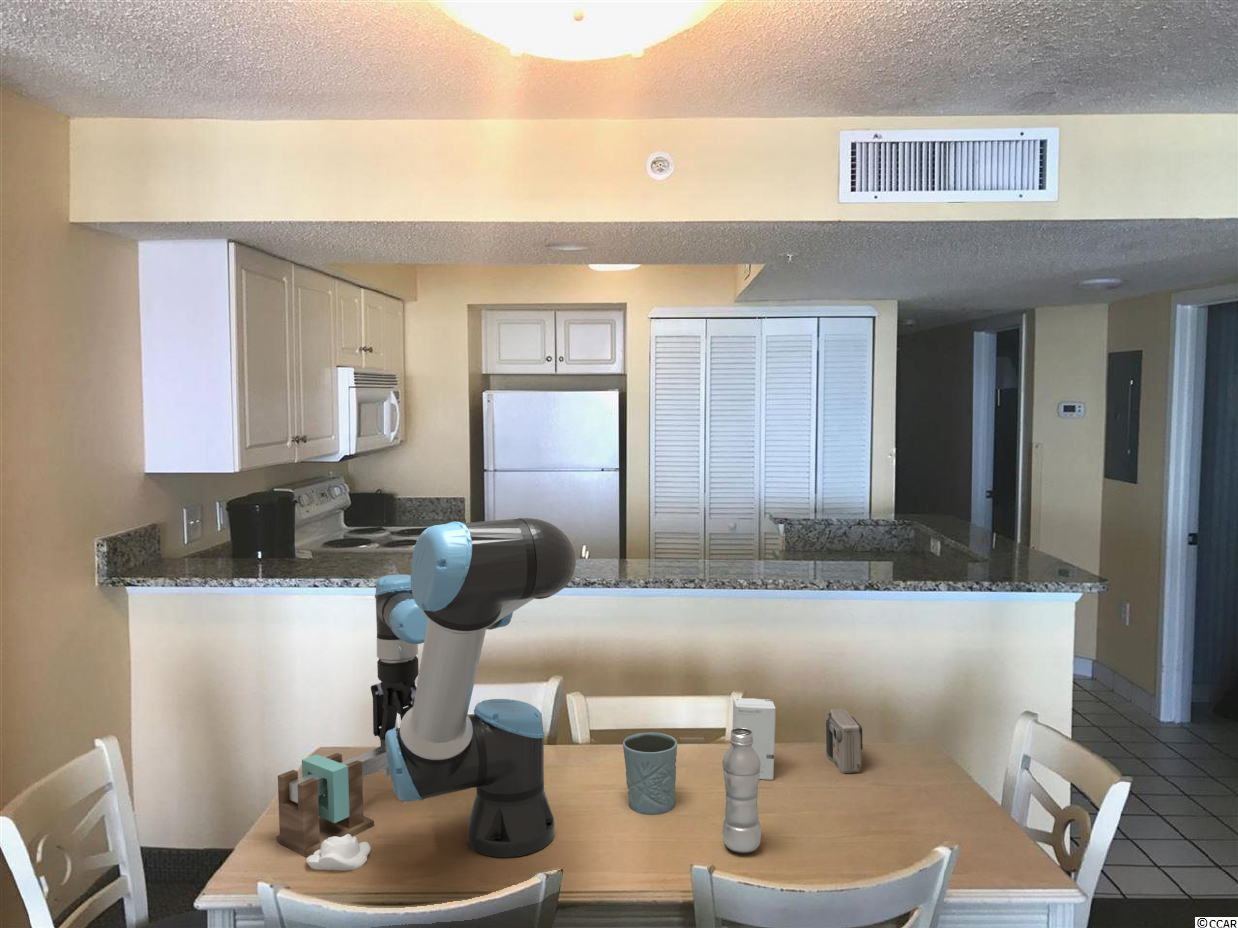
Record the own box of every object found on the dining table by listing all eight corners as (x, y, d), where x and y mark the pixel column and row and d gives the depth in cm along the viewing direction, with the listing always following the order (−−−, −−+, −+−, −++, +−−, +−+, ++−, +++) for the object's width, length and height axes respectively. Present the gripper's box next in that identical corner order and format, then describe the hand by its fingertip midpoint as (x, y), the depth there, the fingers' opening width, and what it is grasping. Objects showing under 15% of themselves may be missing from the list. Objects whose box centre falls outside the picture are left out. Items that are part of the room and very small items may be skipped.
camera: (823, 752, 186) (824, 707, 185) (850, 752, 186) (851, 706, 185) (836, 775, 175) (837, 726, 174) (865, 775, 175) (866, 726, 174)
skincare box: (733, 779, 173) (733, 706, 172) (731, 767, 179) (731, 696, 178) (775, 780, 172) (776, 707, 171) (772, 767, 178) (772, 697, 177)
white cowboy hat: (316, 857, 136) (298, 833, 144) (317, 884, 136) (298, 859, 144) (378, 838, 142) (357, 816, 150) (378, 864, 142) (358, 841, 150)
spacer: (334, 823, 148) (333, 771, 147) (303, 809, 153) (301, 759, 153) (349, 816, 150) (347, 765, 150) (318, 802, 156) (316, 753, 155)
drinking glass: (679, 816, 157) (679, 751, 157) (623, 817, 157) (623, 752, 157) (675, 791, 168) (675, 731, 167) (623, 792, 168) (622, 731, 167)
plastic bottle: (732, 860, 142) (732, 741, 141) (716, 841, 148) (715, 726, 147) (768, 854, 144) (768, 736, 142) (750, 835, 150) (750, 722, 149)
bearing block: (307, 857, 144) (305, 787, 143) (276, 842, 149) (274, 774, 148) (374, 825, 155) (372, 760, 154) (342, 812, 160) (341, 748, 159)
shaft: (303, 811, 145) (302, 782, 145) (286, 803, 148) (285, 775, 148) (419, 761, 166) (418, 736, 165) (401, 755, 168) (401, 730, 168)
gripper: (445, 660, 161) (448, 782, 163) (382, 645, 172) (385, 760, 173) (414, 670, 155) (417, 796, 157) (350, 654, 166) (354, 772, 167)
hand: (400, 777), depth 165 cm, fingers closed on shaft, 5 cm apart
